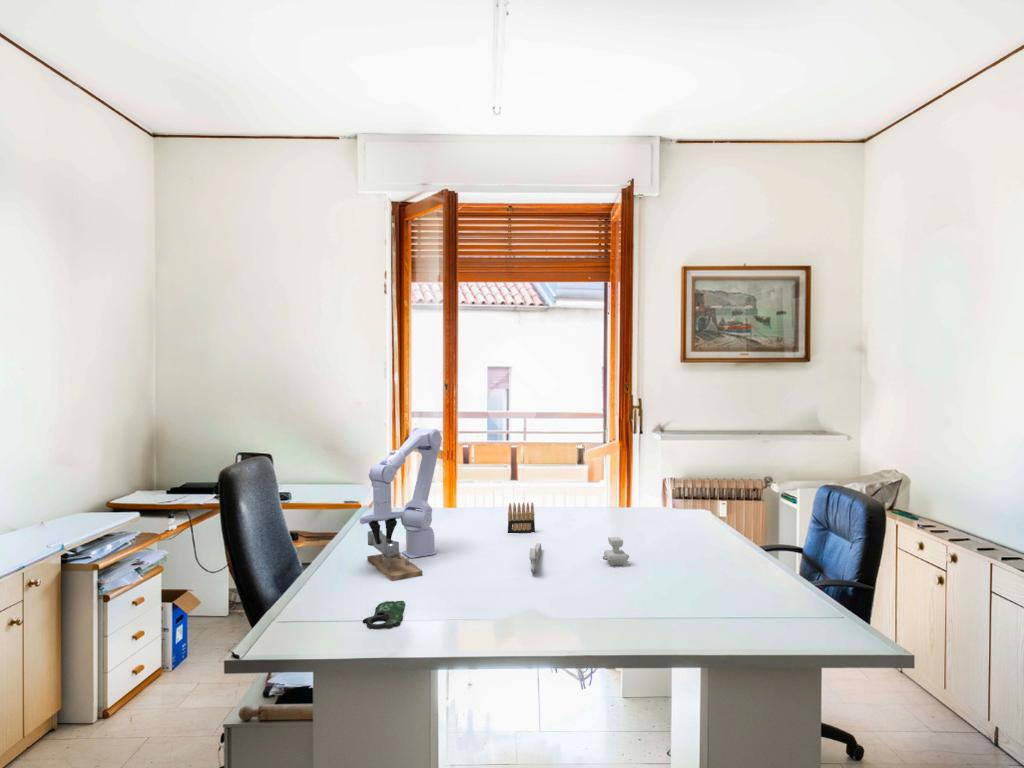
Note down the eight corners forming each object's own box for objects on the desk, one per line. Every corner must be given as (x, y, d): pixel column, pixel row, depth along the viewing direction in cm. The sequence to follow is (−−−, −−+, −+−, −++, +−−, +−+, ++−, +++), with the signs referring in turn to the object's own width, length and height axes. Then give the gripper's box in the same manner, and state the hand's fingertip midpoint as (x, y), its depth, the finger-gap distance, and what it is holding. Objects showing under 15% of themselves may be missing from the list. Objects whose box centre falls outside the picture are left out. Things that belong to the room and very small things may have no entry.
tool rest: (395, 555, 217) (395, 545, 217) (422, 575, 197) (422, 564, 197) (367, 560, 212) (367, 550, 212) (391, 581, 192) (391, 569, 192)
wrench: (541, 558, 223) (534, 576, 193) (536, 558, 223) (529, 576, 194) (541, 535, 224) (535, 550, 194) (536, 535, 224) (529, 549, 194)
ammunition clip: (534, 531, 249) (534, 501, 248) (535, 532, 247) (534, 502, 246) (507, 532, 247) (507, 502, 247) (508, 533, 246) (507, 503, 245)
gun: (369, 601, 172) (406, 600, 173) (370, 606, 172) (406, 605, 173) (359, 625, 156) (400, 624, 157) (359, 631, 156) (400, 629, 157)
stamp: (604, 567, 203) (604, 541, 203) (600, 561, 210) (600, 536, 210) (632, 566, 204) (632, 540, 204) (626, 560, 211) (626, 535, 211)
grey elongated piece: (379, 540, 214) (379, 529, 214) (401, 556, 196) (401, 543, 196) (365, 543, 212) (365, 531, 212) (386, 559, 194) (386, 546, 194)
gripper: (399, 496, 211) (399, 536, 211) (356, 501, 203) (357, 543, 204) (406, 500, 205) (407, 541, 205) (363, 505, 197) (364, 548, 198)
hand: (383, 542), depth 204 cm, fingers closed on grey elongated piece, 3 cm apart
